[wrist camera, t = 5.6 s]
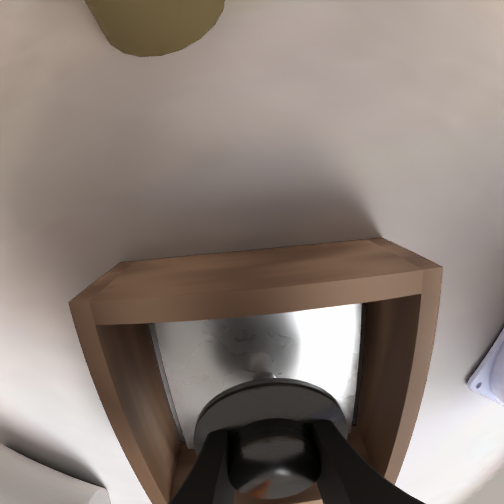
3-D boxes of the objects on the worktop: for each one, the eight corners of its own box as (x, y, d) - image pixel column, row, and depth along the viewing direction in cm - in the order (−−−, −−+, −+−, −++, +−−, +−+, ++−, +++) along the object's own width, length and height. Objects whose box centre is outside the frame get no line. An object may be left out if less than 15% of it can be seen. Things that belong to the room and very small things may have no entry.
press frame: (382, 237, 14) (442, 266, 9) (366, 431, 17) (392, 489, 12) (119, 262, 14) (68, 302, 9) (171, 450, 17) (158, 513, 12)
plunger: (356, 275, 14) (429, 343, 8) (347, 423, 16) (381, 510, 10) (153, 294, 14) (97, 376, 7) (189, 439, 16) (174, 531, 10)
